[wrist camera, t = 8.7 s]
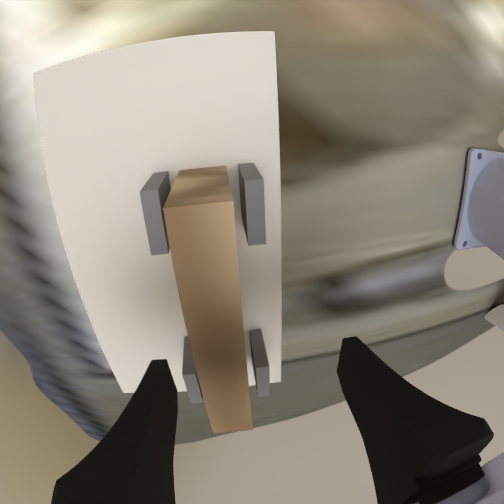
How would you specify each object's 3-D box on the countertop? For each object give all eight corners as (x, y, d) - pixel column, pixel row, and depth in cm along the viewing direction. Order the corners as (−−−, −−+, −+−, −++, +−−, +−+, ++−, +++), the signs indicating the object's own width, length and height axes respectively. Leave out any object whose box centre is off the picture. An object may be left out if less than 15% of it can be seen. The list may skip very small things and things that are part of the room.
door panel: (225, 165, 16) (233, 200, 11) (243, 361, 22) (253, 429, 17) (179, 170, 16) (163, 208, 11) (210, 364, 22) (213, 433, 17)
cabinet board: (270, 35, 14) (290, 15, 10) (278, 372, 25) (289, 415, 21) (41, 73, 13) (-2, 71, 9) (125, 384, 24) (117, 426, 20)
